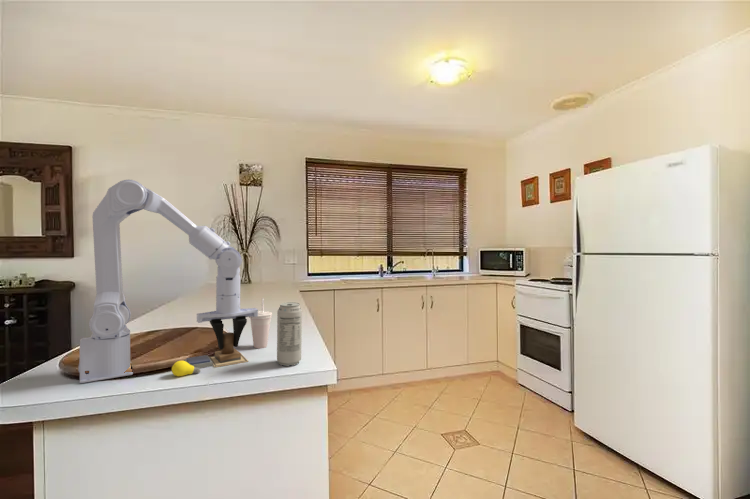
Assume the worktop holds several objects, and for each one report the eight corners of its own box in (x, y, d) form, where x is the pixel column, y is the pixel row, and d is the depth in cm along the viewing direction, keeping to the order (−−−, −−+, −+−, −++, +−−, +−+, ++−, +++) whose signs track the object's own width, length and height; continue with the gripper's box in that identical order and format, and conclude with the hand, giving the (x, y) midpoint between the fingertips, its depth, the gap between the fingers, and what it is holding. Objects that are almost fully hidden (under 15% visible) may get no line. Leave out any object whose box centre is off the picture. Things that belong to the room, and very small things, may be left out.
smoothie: (268, 350, 104) (268, 300, 104) (245, 349, 104) (245, 300, 104) (274, 343, 111) (275, 296, 110) (253, 343, 111) (253, 296, 110)
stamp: (220, 363, 93) (220, 337, 92) (214, 357, 96) (214, 333, 96) (240, 359, 96) (240, 334, 95) (234, 354, 100) (234, 330, 99)
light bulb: (169, 375, 85) (173, 359, 86) (197, 378, 87) (201, 363, 89) (170, 375, 82) (175, 359, 83) (198, 379, 85) (203, 363, 86)
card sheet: (214, 367, 90) (214, 366, 90) (208, 358, 97) (208, 357, 97) (248, 361, 95) (248, 360, 95) (240, 353, 101) (240, 352, 101)
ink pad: (187, 370, 88) (187, 364, 88) (184, 363, 92) (184, 357, 92) (212, 366, 91) (212, 360, 91) (208, 359, 96) (208, 354, 96)
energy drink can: (302, 358, 98) (302, 301, 97) (300, 366, 92) (301, 306, 91) (278, 359, 97) (279, 301, 97) (275, 367, 91) (275, 306, 91)
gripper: (252, 290, 102) (252, 339, 103) (194, 294, 94) (194, 347, 95) (260, 293, 97) (260, 345, 97) (199, 298, 88) (199, 354, 89)
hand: (228, 347), depth 96 cm, fingers closed on stamp, 3 cm apart
